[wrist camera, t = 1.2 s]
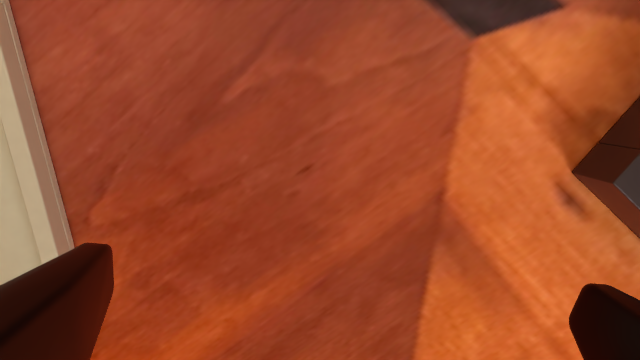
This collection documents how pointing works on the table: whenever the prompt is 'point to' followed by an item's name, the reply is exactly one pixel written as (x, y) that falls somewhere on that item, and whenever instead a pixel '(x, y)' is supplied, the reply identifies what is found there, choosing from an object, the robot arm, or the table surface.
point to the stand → (617, 169)
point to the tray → (25, 169)
